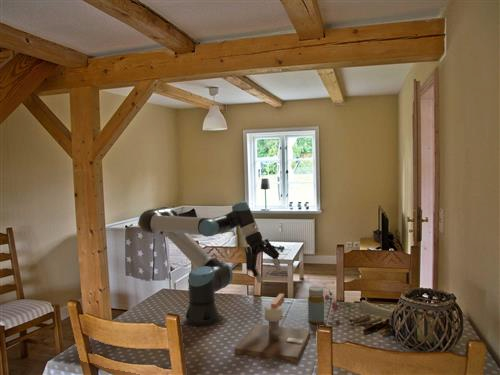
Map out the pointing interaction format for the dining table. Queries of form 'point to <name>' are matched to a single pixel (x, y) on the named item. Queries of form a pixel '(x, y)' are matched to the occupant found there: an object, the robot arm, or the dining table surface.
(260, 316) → the dining table surface
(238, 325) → the dining table surface
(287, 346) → the post base
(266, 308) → the lever switch
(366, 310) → the flower vase
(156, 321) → the dining table surface
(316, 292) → the bottle
